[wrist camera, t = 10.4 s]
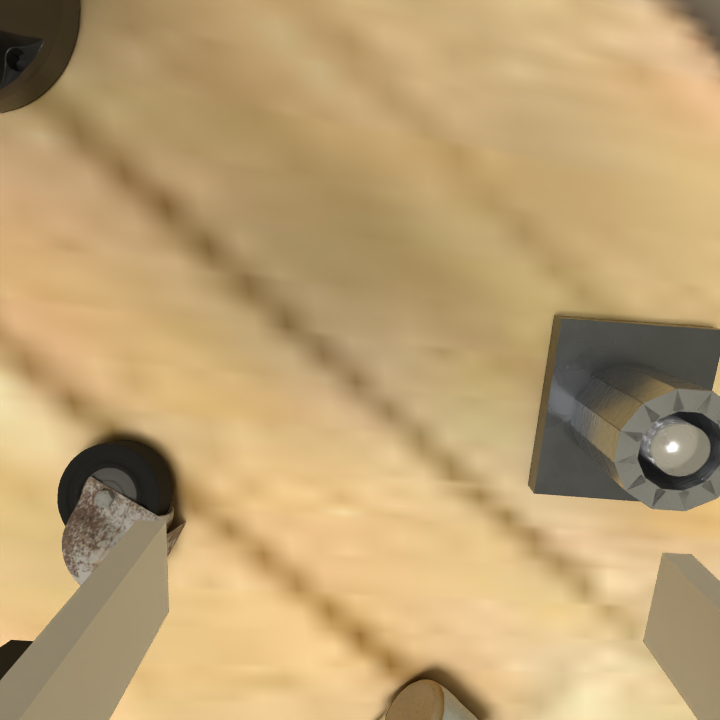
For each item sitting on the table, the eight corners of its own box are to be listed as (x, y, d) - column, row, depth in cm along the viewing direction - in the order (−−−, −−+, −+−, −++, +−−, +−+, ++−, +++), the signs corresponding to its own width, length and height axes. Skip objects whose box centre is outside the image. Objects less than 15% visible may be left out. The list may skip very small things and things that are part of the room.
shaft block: (554, 315, 38) (605, 333, 29) (711, 327, 38) (808, 348, 29) (528, 484, 41) (568, 544, 32) (674, 495, 41) (751, 558, 32)
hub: (581, 360, 37) (628, 385, 30) (688, 368, 37) (760, 394, 30) (564, 460, 39) (605, 505, 32) (666, 468, 39) (730, 514, 32)
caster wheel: (120, 420, 43) (218, 477, 42) (57, 534, 43) (154, 593, 42) (72, 426, 36) (187, 494, 36) (-4, 561, 36) (110, 632, 36)
